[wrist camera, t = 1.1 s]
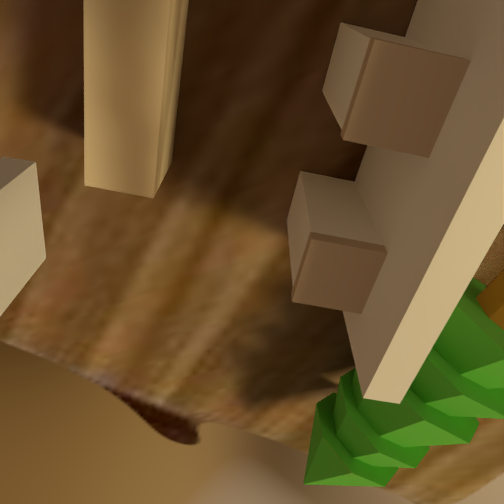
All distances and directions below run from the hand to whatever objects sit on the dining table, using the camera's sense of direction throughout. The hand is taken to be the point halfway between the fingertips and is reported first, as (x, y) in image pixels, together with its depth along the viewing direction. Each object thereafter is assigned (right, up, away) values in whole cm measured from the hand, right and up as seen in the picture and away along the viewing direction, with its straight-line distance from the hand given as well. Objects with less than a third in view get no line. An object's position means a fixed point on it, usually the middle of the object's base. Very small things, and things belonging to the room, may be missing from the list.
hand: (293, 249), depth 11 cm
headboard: (+6, +8, +18) cm, 20 cm away
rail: (-7, +13, +15) cm, 21 cm away
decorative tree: (+12, -7, +28) cm, 31 cm away
